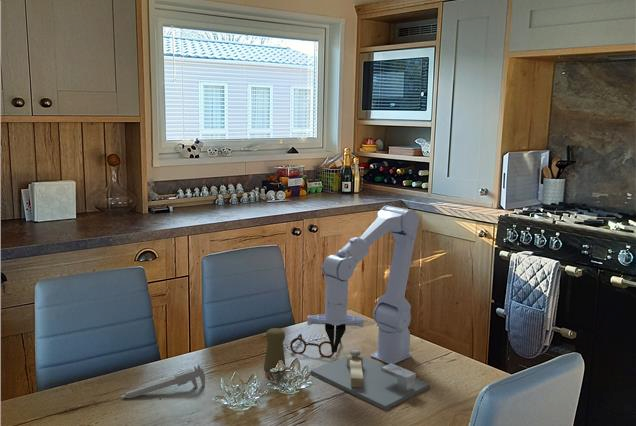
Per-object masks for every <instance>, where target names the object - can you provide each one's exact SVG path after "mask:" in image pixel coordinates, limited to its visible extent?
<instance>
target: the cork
mask: <svg viewBox="0 0 636 426" xmlns="http://www.w3.org/2000/svg"><path fill="white" fill-rule="evenodd" d="M265 338H266V339H265V340H266V341H267V342H266V343H267V344H266V350H265V356H264V357H265V358H264V363H263V370H264V371H265V372H268V373H270V372H269V371H270V369H272V368H275V367H276V365H277V363H278V361H279V360H282V361H283V363H284V365H285V366H286V360H285V357H286V356H285V350H284V341H285V338H286V334H285V331H284V330H283V329H282V328H277V327H275V328H269V329H268V330H266V333H265Z"/></svg>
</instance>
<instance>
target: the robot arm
mask: <svg viewBox="0 0 636 426" xmlns="http://www.w3.org/2000/svg"><path fill="white" fill-rule="evenodd" d="M419 223H420V217H419V215H418V214H417V212H416V211H415V210H413V209H407V208H402V207H396V206H392V205H389V204H386V205H384V206H383V207H382V208H381V209H380V210H379V211H377V213H376V219H375V220H374V221H373V222H372V223H371V224H370V226H368V227H367V229H366V230H365V231H364V232H363V233H362V235H360V236H359V237H357V236H354V237H351V238H350V239H349V240H348V242H347V243H346V244H345V245H344V246H343V247H342V248H340V249H339V250H338V251H337V252H336V253H335V254H330V255H329V256H326V257H325V259H324V261H323V263H322V265H321V271H322V274H323V276H324V282H325V299H324V300H325V302H324V305H325V306H324V314H315V315H314V314H313V315H311V314H310V315H307V322H306V323H307V324H306V325H308V326H312V325H324V330H325V332H326V335H327V337H328V339H329V342H330V344H331V345H330V344H329V345H330V348H331V353H332V352H334V354H335V353H336V354H337V353H338V348H339V345H340V340H341V341H342V338H343V336H344V334H345V333H346V330H347V329H346V326H355V327H357V326H359V328H363V327H364V323H365V322H364V321H365V320H364V317H360V316H354V315H348V296H349V295H348V294H349V279H351V278H352V277H353V275H354V272H355V269H356V268H357V265H358V264H359V263H360V262H361V261H362V260H363V259H364V258H365V257H366V256H367V255H369V252H370V247H371V245H373V244H374V243H375V242H377V241H378V240H379V239H380V238H382V237H383V236H384V235H385V234H387V233H390V234H391V235H392V237H393V238H394V240H395V241H394V247H393V252H392V253H393V254H392V258H391V264H390V270H389V274H388V280H387V285H386V290H385V291H386V292H385V293H384V294H383V295H381V296H379V297H378V298H377V303H376V306H375V307H374V308H373V313H372V317H373V320H374V322H375V323H376V327H378V332H377V333H378V336H377V339H378V340H377V350H376V351H375V352H373V353H372V354H370V357H371V358H374V359H376V360H379V361H381V362H383V363H386V364H387V365H388V364H391V363H392V364H394V365H396V364H397V363H399V362H401V361H403V360H407V359H408V358H410V357H412V356H413V355H412V354H411V353H410V349H411V348H410V346H411V333H410V330H409V328H408V327H409V326H410V324H411V320H412V315H411V308H412V306H411V304H410V302H409V301H408V300H407V299H406V297H405V295H406V291H407V289H406V288H407V284H408V280H409V275H410V274H409V273H410V269H411V263H412V257H413V252H414V246H415V241H416V239H417V235H418V234H417V233H418V229H419Z"/></svg>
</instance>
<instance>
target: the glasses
mask: <svg viewBox="0 0 636 426" xmlns="http://www.w3.org/2000/svg"><path fill="white" fill-rule="evenodd" d="M297 341H301V342H302V343H303V346H304V347H303V350H302V351H296V350H294V347H293V344H294V343H296V342H297ZM340 343H342V339H341V340H340V342H339V344H340ZM324 344H329V346H331V344H330V340H329V341H327V340H326V341H325V340H324V341H321V342H320V343H319V344H318V343H315V342H314V343H313V342H307V341H306V340H304V339H303V334H302V333H299V334H298V335H297V337H296V338H293V339H292V340H291V342H290V350H291V352H292V353H294V354H295V355H303V354H304V353H305V351H306V349H307V346H313V347H314V346H315V347H318V352H319V355H320V356H321V357H323V358H329V359H330V358H331V357H333V356H334V354H335V352H332V351H331V354H330V355H325V354H323V353H322V349H321V348H322V346H323V345H324Z"/></svg>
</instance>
